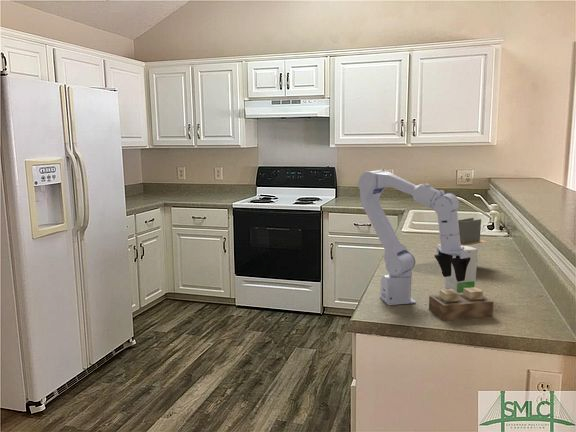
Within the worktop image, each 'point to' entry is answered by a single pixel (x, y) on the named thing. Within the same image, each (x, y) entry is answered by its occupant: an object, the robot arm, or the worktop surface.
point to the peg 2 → (473, 293)
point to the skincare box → (470, 273)
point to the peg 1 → (448, 295)
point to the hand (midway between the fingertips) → (454, 278)
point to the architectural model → (470, 233)
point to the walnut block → (460, 307)
